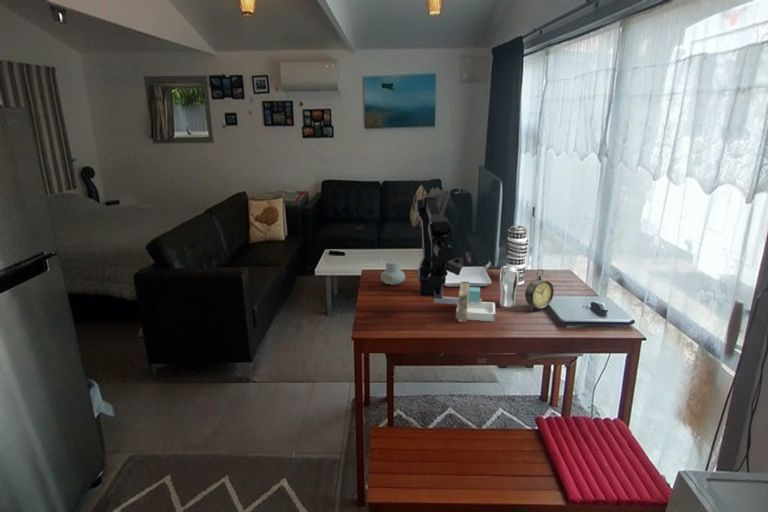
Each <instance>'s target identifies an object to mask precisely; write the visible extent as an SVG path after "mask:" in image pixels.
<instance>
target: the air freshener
mask: <svg viewBox="0 0 768 512" xmlns="http://www.w3.org/2000/svg"><path fill="white" fill-rule="evenodd" d="M380 280H381V281H382V282H383V284H386V285H388V284H390V285H389V286H396V284H397V285H399V284H401V283H403V282H404V281H405V280H406V274H405V273H404V271H403V270H401V269H400V261H399V260H397V259H390V260H389V259H388V260H387V261H385V270H384V271H383V272H382V273H381V274H380Z"/></svg>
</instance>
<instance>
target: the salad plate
mask: <svg viewBox="0 0 768 512" xmlns="http://www.w3.org/2000/svg"><path fill="white" fill-rule="evenodd" d="M447 272H448V274H447V276H446V282H445V284H443V286H445V287H451V288H455V287H456V288H460V286H461V282H469V287H477V288H481V287H486V286H490V285H491V284H492V280H491V278H490V276H489V273H488V272H487V270H486V267H485V266H462V269H461V271H460V274H459V275H455V274H454V273H451V272H449V271H447Z"/></svg>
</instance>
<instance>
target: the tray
mask: <svg viewBox="0 0 768 512" xmlns="http://www.w3.org/2000/svg"><path fill="white" fill-rule="evenodd" d="M458 311H459V304H456V309H455V319H456V320H458ZM478 320H479V321H481V322H493V323H494V322H495V321H496V303H495V302H489V301H482V304H481V306H475V305H467V321H478Z"/></svg>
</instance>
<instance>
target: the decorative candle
mask: <svg viewBox="0 0 768 512" xmlns="http://www.w3.org/2000/svg"><path fill="white" fill-rule="evenodd" d="M507 232H508V235H507V241H506V242H505V249H506V250H505V256H506V263H505V264H506V265H505V266H513V267H517V268H518V269H519V270H518V271H519V279H518V286H519V285H523V284H525V276H526V275H525V273H526V266H525V264H526V263H525V262H526V261H525V259H526V258H527V255H526V254H527V253H528V251H527V250H528V247H527V246H529V244H528V242H529V239H528V237H527V235H528V234H527V233H528V229H526V227H525V226H523V225H518V224H517V225H512V226H510V228H508V229H507Z"/></svg>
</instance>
